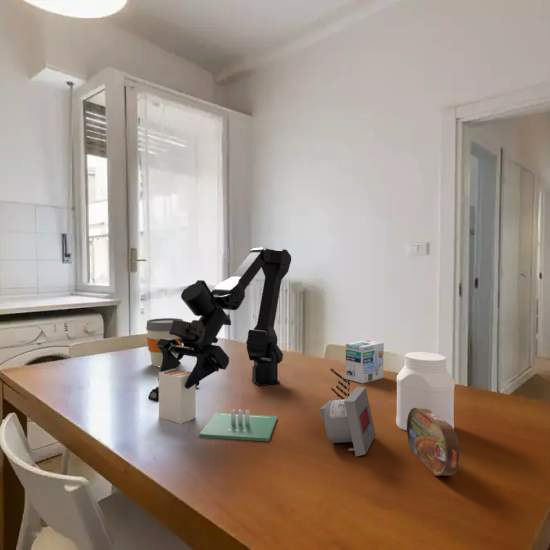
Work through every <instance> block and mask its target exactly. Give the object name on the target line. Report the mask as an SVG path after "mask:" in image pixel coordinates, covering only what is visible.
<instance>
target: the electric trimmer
mask: <svg viewBox="0 0 550 550" xmlns="http://www.w3.org/2000/svg"><path fill="white" fill-rule="evenodd" d="M199 385H200V381H199V382H198V383H196V387H198V386H199ZM148 400H150V401H153V402H157V401H158V402H159V386H156V387H155V388H153V389H152V390H150V392H149V395H148Z"/></svg>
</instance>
